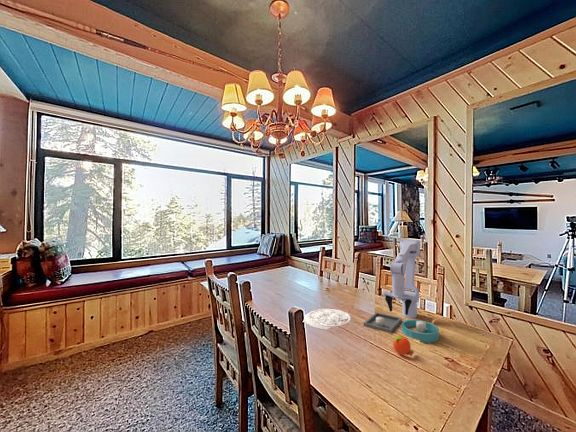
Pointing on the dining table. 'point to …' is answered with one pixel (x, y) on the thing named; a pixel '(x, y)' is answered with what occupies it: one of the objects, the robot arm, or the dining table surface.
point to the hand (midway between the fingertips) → (398, 312)
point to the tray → (390, 322)
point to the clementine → (401, 345)
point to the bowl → (426, 337)
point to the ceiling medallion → (326, 318)
